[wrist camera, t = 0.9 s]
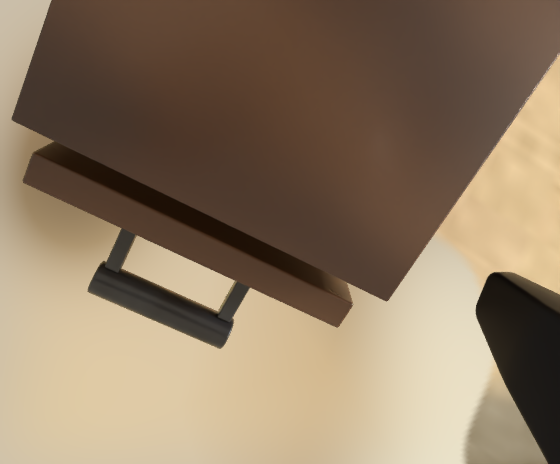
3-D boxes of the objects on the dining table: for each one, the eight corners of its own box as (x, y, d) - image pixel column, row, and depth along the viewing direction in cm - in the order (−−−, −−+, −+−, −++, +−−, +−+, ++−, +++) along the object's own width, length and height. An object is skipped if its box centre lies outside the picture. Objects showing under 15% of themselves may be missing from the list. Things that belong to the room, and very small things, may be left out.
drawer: (283, 345, 25) (285, 407, 21) (36, 236, 22) (-15, 281, 18) (541, -61, 18) (617, -87, 14) (234, -274, 16) (221, -374, 12)
